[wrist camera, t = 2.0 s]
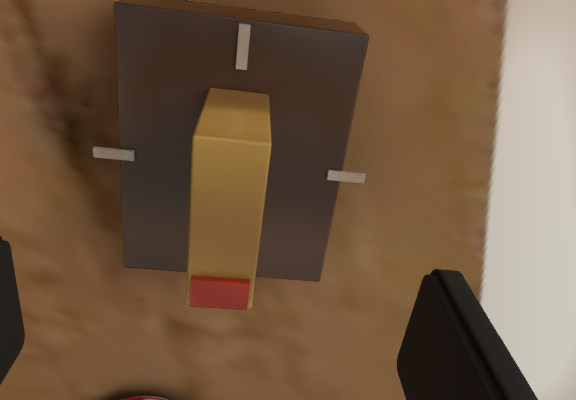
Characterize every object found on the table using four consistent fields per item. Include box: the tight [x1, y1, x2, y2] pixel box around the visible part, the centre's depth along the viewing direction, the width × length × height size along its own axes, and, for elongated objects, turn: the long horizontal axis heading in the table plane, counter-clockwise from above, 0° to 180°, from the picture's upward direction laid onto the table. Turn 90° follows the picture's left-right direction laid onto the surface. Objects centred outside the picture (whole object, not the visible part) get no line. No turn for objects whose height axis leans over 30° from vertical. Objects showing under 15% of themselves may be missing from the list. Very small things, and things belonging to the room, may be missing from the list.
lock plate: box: [93, 0, 369, 282], centre depth 18 cm, size 10×10×3 cm
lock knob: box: [186, 88, 272, 310], centre depth 15 cm, size 6×2×5 cm, turn 172°
